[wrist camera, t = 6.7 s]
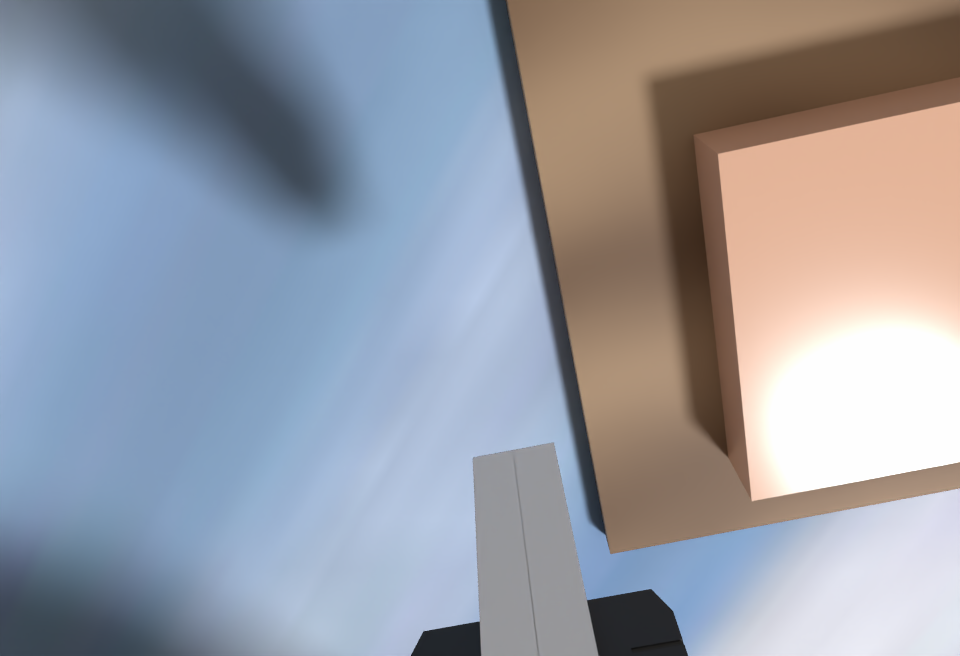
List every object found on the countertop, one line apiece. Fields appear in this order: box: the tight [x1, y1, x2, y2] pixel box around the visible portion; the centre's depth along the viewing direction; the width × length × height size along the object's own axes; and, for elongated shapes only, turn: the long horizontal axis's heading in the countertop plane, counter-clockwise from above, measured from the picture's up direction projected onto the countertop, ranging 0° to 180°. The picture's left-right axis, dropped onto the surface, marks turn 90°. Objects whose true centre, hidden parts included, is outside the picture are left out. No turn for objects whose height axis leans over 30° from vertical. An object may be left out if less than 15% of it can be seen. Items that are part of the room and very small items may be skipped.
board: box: [506, 0, 960, 554], centre depth 21 cm, size 16×14×1 cm
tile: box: [693, 77, 960, 501], centre depth 20 cm, size 9×2×9 cm
